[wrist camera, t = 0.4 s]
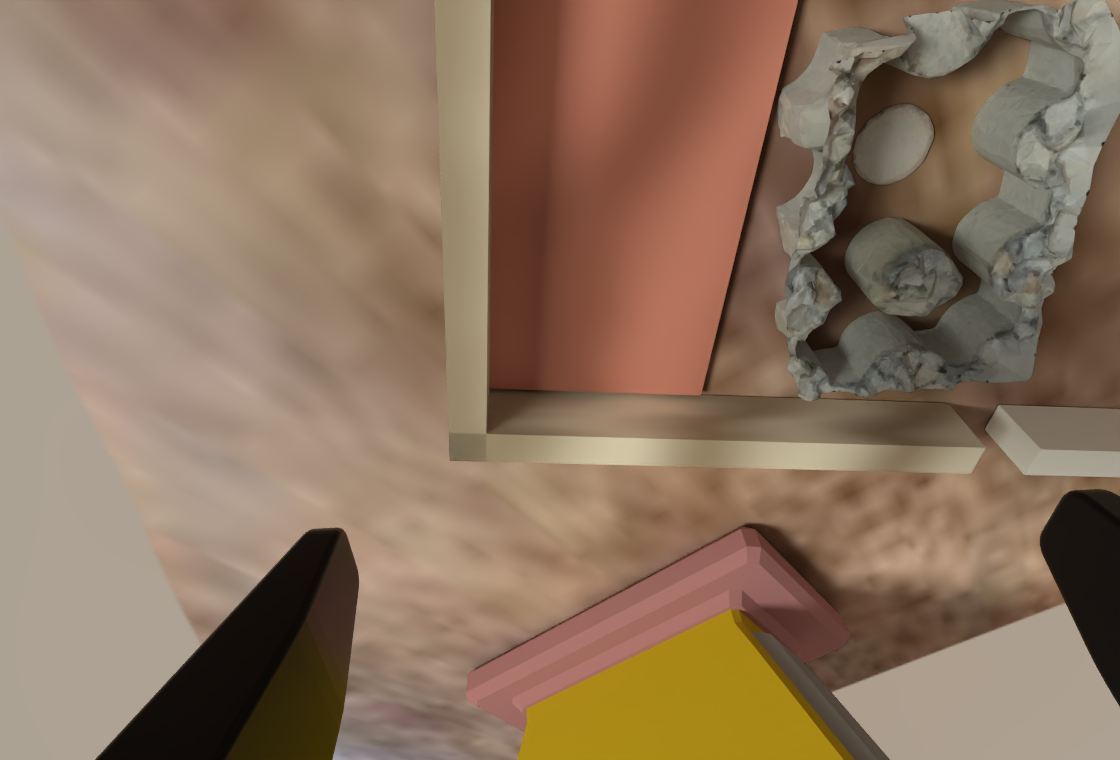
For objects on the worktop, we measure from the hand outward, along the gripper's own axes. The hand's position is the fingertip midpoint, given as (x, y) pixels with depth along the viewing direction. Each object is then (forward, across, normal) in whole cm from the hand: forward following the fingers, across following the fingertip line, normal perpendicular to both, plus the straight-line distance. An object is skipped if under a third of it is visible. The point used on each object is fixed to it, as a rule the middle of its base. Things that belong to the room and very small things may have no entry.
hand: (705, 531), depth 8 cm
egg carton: (+14, -9, +1) cm, 16 cm away
